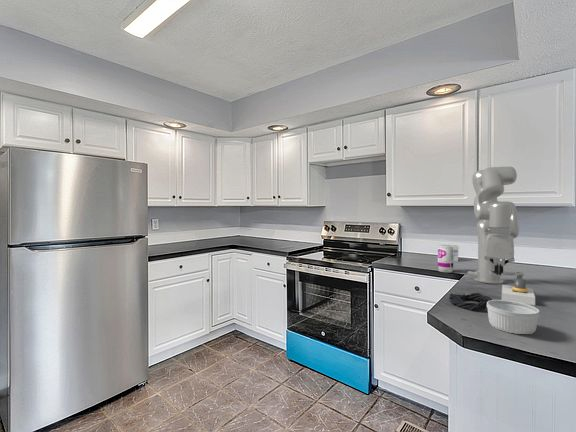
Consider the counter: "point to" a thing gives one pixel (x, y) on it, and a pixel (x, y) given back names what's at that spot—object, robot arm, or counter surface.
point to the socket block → (518, 295)
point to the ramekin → (512, 316)
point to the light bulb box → (455, 252)
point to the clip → (507, 273)
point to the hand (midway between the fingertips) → (498, 274)
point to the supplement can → (445, 258)
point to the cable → (474, 296)
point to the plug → (519, 285)
